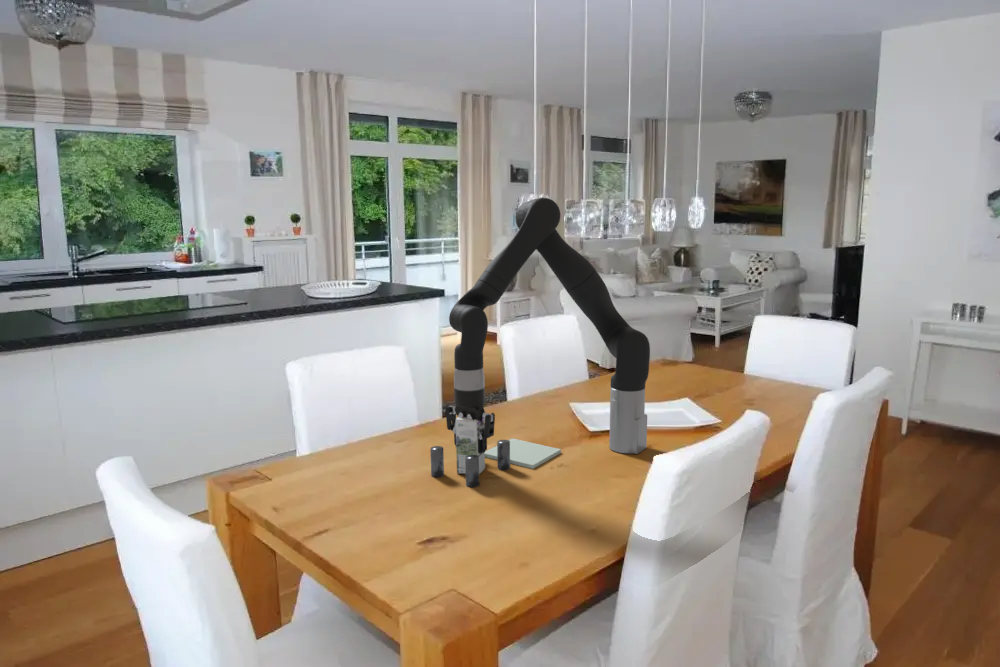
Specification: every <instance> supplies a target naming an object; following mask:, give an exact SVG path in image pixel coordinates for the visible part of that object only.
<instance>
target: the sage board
mask: <svg viewBox="0 0 1000 667" xmlns="http://www.w3.org/2000/svg"><path fill="white" fill-rule="evenodd" d="M508 440H509V441H510V465H516V466H519V467H524V468H527V469H531V470H533V469H536V468H537V467H538V466H541V465H543V464H544V463H546V462H548V461H549V460H551V459H553V458H554V457H556V456H558V455H560V454H561V453H562V449H561V448H557V447H552V446H548V445H543V444H539V443H535V442H531V441H526V440H521V439H517V438H510V439H508ZM484 453H485V458H487V459H490V460H491V459H492V460H495V461H497V445H496V446H493V447H491V448H489V449H488V450H486V451H485V452H484Z"/></svg>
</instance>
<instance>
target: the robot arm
mask: <svg viewBox="0 0 1000 667" xmlns="http://www.w3.org/2000/svg"><path fill="white" fill-rule="evenodd" d="M514 217H515V218H514V220H515V224H516V227H517V229H518V231H517V232H516V234H514V236H513V238H512V239H511V240H510V241H509V243H507V245H506V246H505V247H504V248H503V249H502V250H501V251H500V252H499V253H498V254H497V255H496V256H495V257H494V258H493V259H492V260H491V261H490V262H489V264H488V265H487V266H486V268H485V269H484V271H483V272H482V273H481V275H480V276H479V278H478V279H477V281H476V282H475V284H474V285H473V286H472V287H471V288H470V289H469V290H468V291H467V292H465V294H463V296H462V297H460V299H458V300H457V301H456V302H455V304H454V305H453V307H452V308H451V311H450V313H449V316H448V322H449V325H450V327H451V328H452V329H453V330H455V331H456V332H459V333H461V336H460V337H461V339H460V343H459V344H457V345H456V346H455V348H454V354H453V355H454V357H453V358H454V370H453V394H454V396H453V398H454V399H453V400H454V401H453V402H454V404H455V405H454V404H451V405H448V406H446V407H445V417H446V418H445V419H446V428H447V430H448V431H451V432H452V433H453V437H454V438H453V439H454V441H453V443H454V445H455V446H456V418H457V417H460V418H463V417H467V418H468V420H474V419H476V420H478V421H480V422H481V423H482V424H481V426H479V427H478V428H477V430H478V438H479V439H478V453H481V454H482V453H484V452H485V451H487V449H488V439H489V438H491V437H493V436H494V435H495V423H496V422H495V421H496V419H495V418H496V415H495V412H491V413H489V412H486V411H485V408H484V406H485V403H486V401H485V399H486V397H485V396H486V394H485V393H486V392H485V391H486V390H485V389H486V388H485V372H484V348H485V344H486V340H487V335H488V334H487V333H488V328H489V326H488V325H489V323H488V316H487V314H486V312H485V311H484V310H485V309H487V307H490V306H493V305H495V304H497V303H498V302H499V300H500V299H501V297H502V296H503V295H504V293H505V292H506V290H508V287H509V286H510V285H511V283H512V282H513V280H514V278H515V277H516V275H517V274H518V273H519V272H520V271H521V269H522V268H523V266H524V265H525V263H526V262H527V261H528V260H529V258H530V257H531V256H532V255H533V253H534V252H536V251H537V252H538V253H539V254H540V256H541V257H542V259H544V261H545V262H546V264H547V265H548V266H549V268H550V269H551V271H552V272H553V273H554V275H555V276H556V278H557V279H558V281H559V282H560V283H561V285H562V287H563V288H564V289H565V291H566V292H567V294H568V295H569V297H570V298H571V299H572V300H573V302H574V303H575V304H576V305H577V307H579V310H581V312H582V313H583V314H584V315H585V316H586V317H587V319H588V320H589V321H590V322H591V323H592V324H593V325H594V327H595V330H597V332H598V334H599V335H600V337H601V339H602V341H603V342H604V344H605V346H606V347H607V350H608V351H609V353H610V354H611V355H612V356H613V357H614V358H615V360H616V361H615V372H614V374H613V375H611V377H610V387H609V388H610V392H609V393H610V396H609V397H610V399H609V440H608V441H609V447H608V448H609V449H610V450H612V451H613V452H616V453H620V454H636V455H638V454H640V453H642V452H643V451H644V450H645V449H647V444H648V443H647V442H648V440H647V438H648V435H647V434H648V414H646V413H645V408H646V406H645V405H646V404H645V403H646V383H647V380H648V378H649V371H650V357H651V355H650V353H651V348H650V347H651V345H650V340H649V339H648V337H647V335H646V334H645V333H643V332H641V331H639V330H637V329H635V328H633V327H632V326H630V324H629V322H627V321H626V320H625V319H624V318H623V316H622V315H621V314H620V313H619V311H618V310H617V308H616V306H615V305H614V303H613V299H612V298H611V294H610V292H609V289H608V287H607V286H606V283H605V282H604V279H603V278H602V276H601V275H600V274H599V273H598V271H597V269H595V267H594V266H593V265H592V263H591V262H590V261H589V260H588V259H586V258H585V257H584V256H583V255H582V253H579V252H578V251H577V250H576V249H574V248H573V247H572V246H571V245H569V244H568V242H566V241H565V240H564V238H563V237H562V236H561V235H560V232H558V231H557V228H558V226H559V223H561V222H560V221H561V211H560V208H559V206H558V204H557V203H556V201H554V200H553V199H550V197H549V198H547V197H538V198H534V199H531V200H529V201H526V202H523V203H522V204H520V205H519V206H518V207H517V210H516V212H515V216H514ZM483 418H484V421H483Z"/></svg>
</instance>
